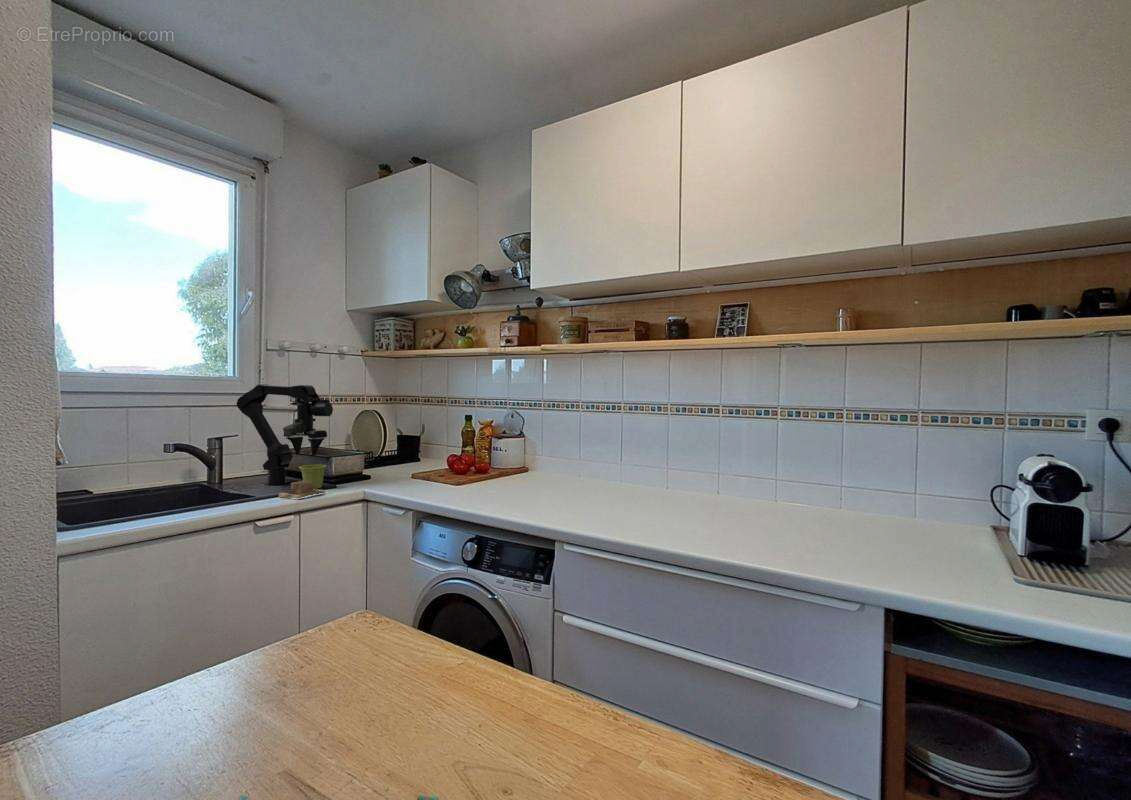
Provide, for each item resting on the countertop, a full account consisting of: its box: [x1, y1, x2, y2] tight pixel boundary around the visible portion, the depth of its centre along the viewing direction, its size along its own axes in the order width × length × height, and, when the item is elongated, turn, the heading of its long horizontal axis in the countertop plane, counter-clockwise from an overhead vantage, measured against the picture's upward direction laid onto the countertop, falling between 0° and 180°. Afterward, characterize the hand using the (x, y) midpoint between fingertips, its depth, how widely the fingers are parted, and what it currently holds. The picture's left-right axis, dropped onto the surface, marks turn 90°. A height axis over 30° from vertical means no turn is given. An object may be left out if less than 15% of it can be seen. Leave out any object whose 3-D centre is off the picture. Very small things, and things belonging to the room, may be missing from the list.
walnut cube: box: [290, 480, 313, 495], centre depth 184 cm, size 5×5×5 cm
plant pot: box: [298, 464, 327, 490], centre depth 198 cm, size 9×9×9 cm
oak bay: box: [278, 488, 326, 499], centre depth 184 cm, size 10×11×2 cm
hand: (305, 455), depth 206 cm, fingers open, 9 cm apart
